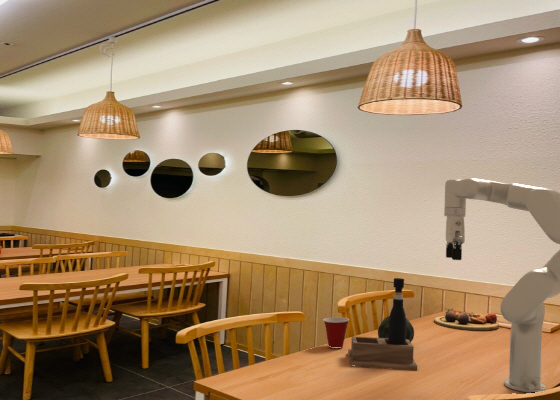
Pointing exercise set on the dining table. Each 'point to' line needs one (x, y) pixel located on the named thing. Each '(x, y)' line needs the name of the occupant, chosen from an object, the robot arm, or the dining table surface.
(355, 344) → the bottle rack
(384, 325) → the squash
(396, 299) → the wine bottle
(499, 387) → the dining table surface
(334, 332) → the plastic cup
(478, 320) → the wooden plate with food
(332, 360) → the dining table surface
